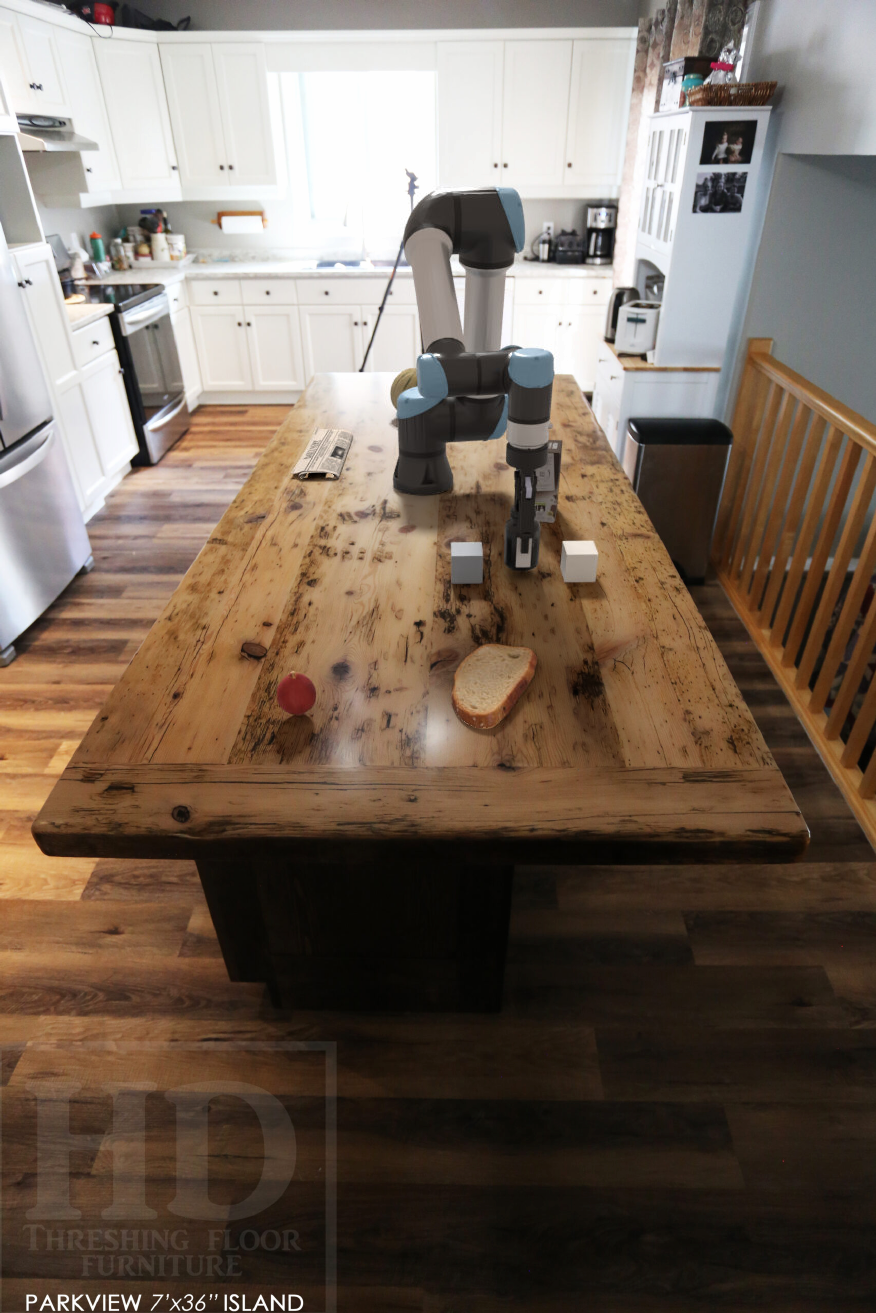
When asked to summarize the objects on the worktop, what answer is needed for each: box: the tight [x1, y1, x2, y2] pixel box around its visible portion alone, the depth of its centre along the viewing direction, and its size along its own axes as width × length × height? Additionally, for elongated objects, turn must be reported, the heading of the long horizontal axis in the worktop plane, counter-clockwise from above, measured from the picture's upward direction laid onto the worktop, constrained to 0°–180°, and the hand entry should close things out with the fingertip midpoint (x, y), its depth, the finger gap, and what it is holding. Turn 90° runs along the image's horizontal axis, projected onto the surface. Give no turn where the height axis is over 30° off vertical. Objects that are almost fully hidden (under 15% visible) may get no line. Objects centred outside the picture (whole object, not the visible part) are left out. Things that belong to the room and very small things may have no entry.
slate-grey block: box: [450, 541, 484, 585], centre depth 149 cm, size 6×6×6 cm
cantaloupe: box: [389, 367, 417, 411], centre depth 235 cm, size 15×15×15 cm
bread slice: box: [450, 643, 538, 729], centre depth 119 cm, size 18×18×4 cm
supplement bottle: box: [503, 503, 541, 572], centre depth 147 cm, size 7×7×12 cm
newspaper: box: [291, 426, 354, 480], centre depth 209 cm, size 35×12×4 cm, turn 179°
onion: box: [276, 670, 317, 717], centre depth 112 cm, size 6×6×8 cm
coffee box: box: [534, 439, 563, 524], centre depth 170 cm, size 9×6×16 cm
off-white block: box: [559, 540, 599, 583], centre depth 148 cm, size 6×6×6 cm
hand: (521, 557), depth 149 cm, fingers closed on supplement bottle, 7 cm apart
